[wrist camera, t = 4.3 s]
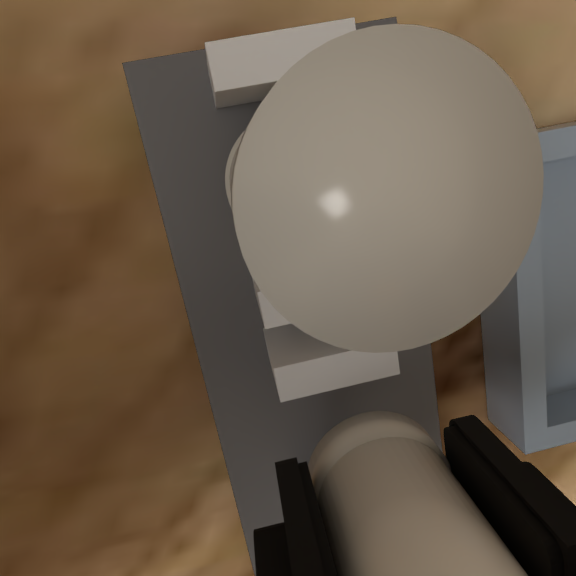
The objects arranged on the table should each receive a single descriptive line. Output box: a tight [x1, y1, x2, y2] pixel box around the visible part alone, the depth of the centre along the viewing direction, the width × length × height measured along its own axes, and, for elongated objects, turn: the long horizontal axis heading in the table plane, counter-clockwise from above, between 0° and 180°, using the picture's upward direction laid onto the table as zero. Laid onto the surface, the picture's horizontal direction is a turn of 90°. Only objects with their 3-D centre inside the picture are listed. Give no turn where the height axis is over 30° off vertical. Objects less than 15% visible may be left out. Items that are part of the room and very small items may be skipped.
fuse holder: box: [122, 17, 442, 576], centre depth 14 cm, size 7×21×4 cm, turn 10°
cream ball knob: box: [225, 24, 544, 353], centre depth 9 cm, size 3×3×8 cm
